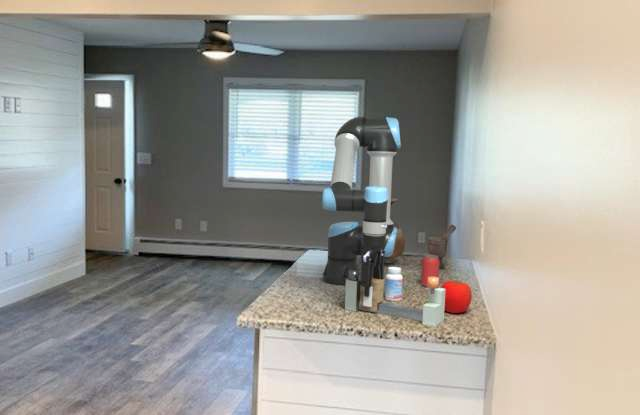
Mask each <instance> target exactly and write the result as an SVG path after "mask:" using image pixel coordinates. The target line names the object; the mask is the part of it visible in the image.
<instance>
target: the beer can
mask: <svg viewBox="0 0 640 415" xmlns="http://www.w3.org/2000/svg"><path fill="white" fill-rule="evenodd" d="M439 275H440V268H439V258H438V256H437V255H430V254H429V253H428V254H424V255H423V258H422V261H421V280H420V285H421V286H422V287H423V288H428V287H427V282H428V277H430V276H433V277H438V278H439V279H440V277H439Z"/></svg>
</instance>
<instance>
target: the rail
mask: <svg viewBox="0 0 640 415" xmlns="http://www.w3.org/2000/svg"><path fill="white" fill-rule="evenodd" d="M359 272H360V269H359V270H349V279H347V280H346V285H345V293H344V294H345V298H344V310H346V311H351V312H359V311H364V312H369V313H373V314H379V315H385V316H390V317H391V316H392V317H396V318H403V319H409V320H413V321H418V322H423V308H417V307H412V306H405V305H400V304H395V303H388V302H384V301H383V302H380V303H378V304H377V312H375V311H370V310H364V309H359V307H360V288H361V276H359Z"/></svg>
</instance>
